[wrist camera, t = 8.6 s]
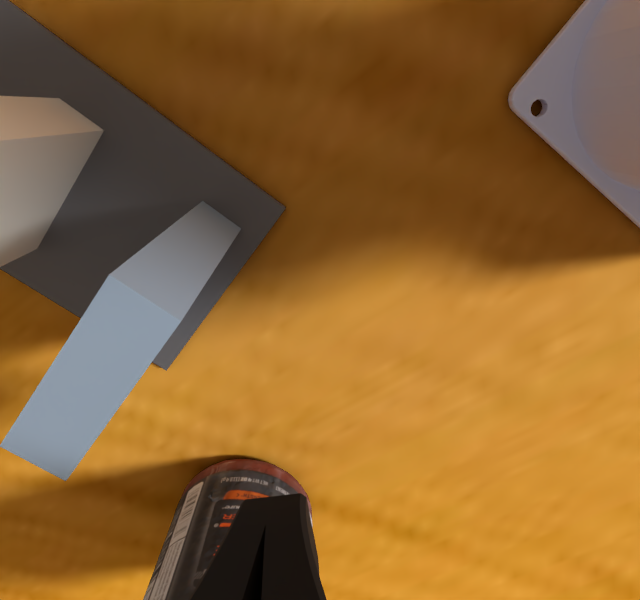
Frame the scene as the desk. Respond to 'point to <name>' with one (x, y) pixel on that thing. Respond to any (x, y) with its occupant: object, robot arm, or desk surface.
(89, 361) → the tile
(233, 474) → the supplement bottle
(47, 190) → the tile
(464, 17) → the desk surface
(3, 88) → the runner mat
